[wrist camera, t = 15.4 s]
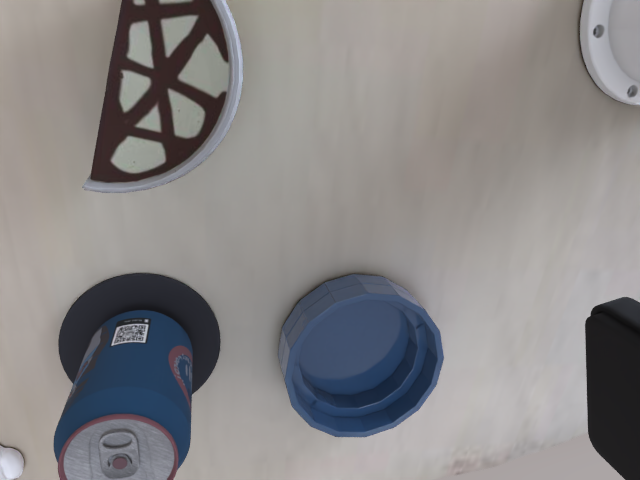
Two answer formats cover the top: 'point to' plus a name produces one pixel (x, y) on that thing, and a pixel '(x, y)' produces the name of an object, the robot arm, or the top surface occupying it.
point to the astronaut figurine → (10, 463)
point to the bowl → (359, 356)
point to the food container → (166, 92)
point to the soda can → (129, 402)
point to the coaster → (141, 295)
